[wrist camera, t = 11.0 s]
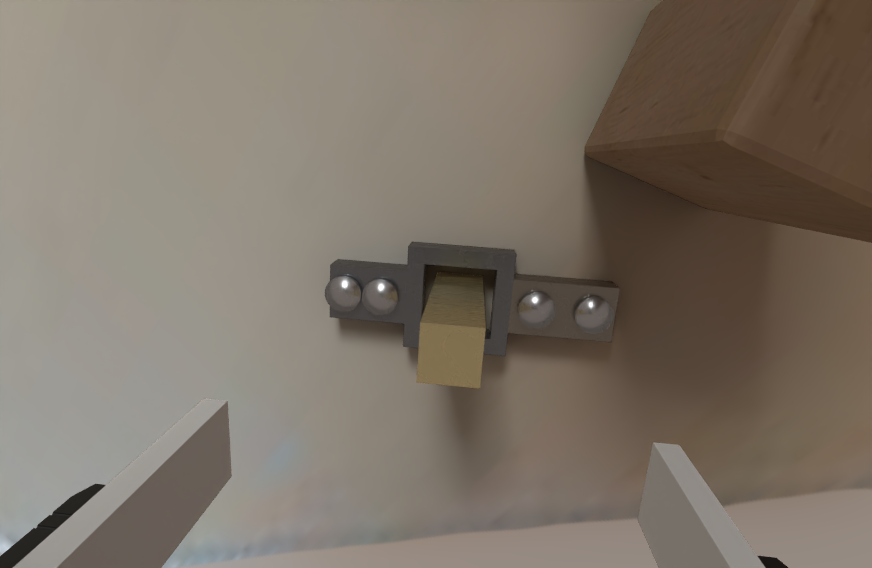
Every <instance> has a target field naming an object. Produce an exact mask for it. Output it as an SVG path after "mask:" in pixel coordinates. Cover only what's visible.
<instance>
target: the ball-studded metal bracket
mask: <svg viewBox="0 0 872 568" xmlns="http://www.w3.org/2000/svg"><path fill="white" fill-rule="evenodd" d="M515 262H516V253H515V251H514V250H511V249H498V248H485V247H473V246H460V245H447V244H435V243H422V242H411V244H410V245H409V246H408V264H407V265H402V264H390V263H378V262H365V261H353V260H341V259H338V260H336V261H335V262H333V263H332V264H331V265H330V282H329V283H328V285H327V286H326V289H325V297H326V300H327V302H328V304H329V305H330V317H334V318H346V319H357V320H368V321H379V322H390V323H402V324H404V340H403V347H413V348H419V334H420V322H421V319H422V316H423V313H424V298H425V282H426V266H427V264H429V265H441V266H453V267H466V268H478V269H490V270H496V272H495V282H494V292H493V302H492V312H491V322H490V330H486V331H485V341H484V352H483V354H489V355H500V356H505V354H506V345H507V335H508V333H514V334H525V335H536V336H547V337H559V338H570V339H581V340H592V341H604V342H611V339H612V333H613V327H614V321H615V315H616V309H617V303H618V297H619V291H620V288H619V287H618V286H616V285H615V284H614V283H613V282H610V281H597V280H585V279H573V278H561V277H549V276H536V275H524V274H514V271H515Z"/></svg>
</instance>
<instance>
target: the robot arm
mask: <svg viewBox="0 0 872 568" xmlns="http://www.w3.org/2000/svg"><path fill="white" fill-rule="evenodd" d="M231 476H232V475H231V456H230V437H229V418H228V401H226V400H216V399H206V398H204V399H203V400H202V401H201V402H200V403H198V404H197V405H196V406H195V407H194V408H193V409H192V410H190V411H189V412H188V413H187V414H186V415H185V416H184V417H183V418H181V419H180V420H179V421H178V422H177V423H176V424H175V425H174V426H172V427H171V428H170V429H169V430H168V431H167V432H166V433H164V434H163V435H162V436H161V437H160V438H159V439H158V440H157V441H155V442H154V443H153V444H152V445H151V446H150V447H149V448H148V449H146V450H145V451H144V452H143V453H142V454H141V455H140V456H138V457H137V458H136V459H135V460H134V461H133V462H132V463H131V464H129V465H128V466H127V467H126V468H125V469H124V470H123V471H122V472H120V473H119V474H118V475H117V476H116V477H115V478H114V479H112V480H111V481H110V482H109V483H108V484H107V485H101V484H94V485H92V486H90V487H89V488H87V489H85V490H83V491H81V492H79V493H77V494H75V495H74V496H72V497H70V498H69V499H68V500H67V501H66V502H65V503H63V504H62V505H61V506H60V507H59V508H57V509H56V510H55V511H54V512H53V514H52V515H49V516H48V517H47V518H45V519H44V520H43V521H42V522H41V523H39V524H38V526H37V528H36V529H35V528H33V529H32V530H31V531H30V532H29V533H28V534H26V535H25V536H24V537H23V538H22V539H20V540H19V541H18V542H17V543H16V544H14V545H13V546H12V547H11V548H10V549H8V550H7V551H6V552H5V553H4V554H2V555H1V556H0V568H161V567H162V566H163V565H164V563H165V562H166V561H167V560H168V558H169V557H170V556H171V554H172V553H173V552H174V550H175V549H176V548H177V547H178V545H179V544H180V543H181V541H182V540H183V539H184V537H185V536H186V535H187V534H188V532H189V531H190V530H191V528H192V527H193V526H194V524H195V523H196V522H197V521H198V519H199V518H200V517H201V515H202V514H203V513H204V511H205V510H206V509H207V508H208V506H209V505H210V504H211V502H212V501H213V500H214V498H215V497H216V496H217V494H218V493H219V492H220V491H221V489H222V488H223V487H224V485H225V484H226V483H227V481H228V480H229V479H230V478H231ZM638 522H639V524H640V526H641V529H642V531H643V533H644V536H645V538H646V540H647V542H648V545H649V547H650V549H651V551H652V554H653V556H654V558H655V560H656V563H657V565H658V567H659V568H788V567H787V566H786V565H784V564H783V563H782V562H781V561H780V560H778V559H777V558H772V557H764V556H757V555H756V554H755V552H754V551H753V549H752V548H751V546H750V545H749V543H748V542H747V541H746V539H745V538H744V536H743V535H742V534H741V532H740V531H739V530H738V528H737V526H736V525H735V524H734V522H733V521H732V519H731V518H730V516H729V515H728V514H727V512H726V511H725V509H724V508H723V506H722V505H721V504H720V502H719V501H718V499H717V498H716V496H715V495H714V494H713V492H712V491H711V489H710V488H709V487H708V485H707V484H706V482H705V481H704V479H703V478H702V477H701V475H700V474H699V472H698V471H697V469H696V468H695V467H694V465H693V464H692V462H691V461H690V459H689V458H688V457H687V455H686V454H685V452H684V451H683V449H682V448H681V447H680V445H675V444H665V443H655V442H653V445H652V450H651V455H650V460H649V465H648V470H647V475H646V480H645V485H644V490H643V495H642V500H641V505H640V510H639V515H638Z"/></svg>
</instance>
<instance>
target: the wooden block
mask: <svg viewBox="0 0 872 568" xmlns="http://www.w3.org/2000/svg"><path fill="white" fill-rule="evenodd" d="M585 154H586V155H587V156H588V157H590V158H592V159H595V160H597V161H599V162H601V163H604V164H606V165H608V166H611V167H613V168H615V169H617V170H620V171H622V172H624V173H626V174H629V175H631V176H633V177H636V178H638V179H640V180H642V181H645V182H647V183H649V184H651V185H654V186H656V187H658V188H660V189H663V190H665V191H667V192H670V193H672V194H674V195H676V196H679V197H681V198H683V199H685V200H688V201H690V202H692V203H695V204H697V205H699V206H701V207H704V208H706V209H710V210H715V211H720V212H725V213H730V214H734V215H739V216H744V217H749V218H754V219H759V220H764V221H769V222H774V223H778V224H783V225H788V226H793V227H798V228H803V229H808V230H813V231H817V232H822V233H827V234H832V235H837V236H842V237H847V238H852V239H857V240H861V241H866V242H871V243H872V0H663V1H662V2H661V3H660V4H658V5H657V6H656V7H655V8H654V9H653V10H652V11H651V12H650V14H649V16H648V18H647V20H646V22H645V24H644V26H643V28H642V30H641V32H640V34H639V37H638V39H637V41H636V43H635V45H634V47H633V49H632V51H631V53H630V55H629V57H628V59H627V61H626V63H625V65H624V67H623V69H622V72H621V74H620V76H619V78H618V80H617V82H616V84H615V86H614V88H613V90H612V92H611V94H610V96H609V98H608V100H607V102H606V104H605V107H604V109H603V111H602V113H601V115H600V117H599V119H598V121H597V123H596V125H595V127H594V129H593V131H592V133H591V135H590V137H589V139H588V142H587V144H586V146H585Z"/></svg>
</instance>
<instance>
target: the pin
mask: <svg viewBox="0 0 872 568" xmlns="http://www.w3.org/2000/svg"><path fill="white" fill-rule="evenodd" d="M485 331H486V324H485V306H484V289H483V275H472V274H460V273H448V272H437V275H436V278H435V281H434V284H433V287H432V290H431V293H430V296H429V298H428V301H427V304H426V307H425V310H424V313H423V316H422V319H421V322H420V334H419V350H418V367H417V383H428V384H438V385H448V386H459V387H469V388H479V389H480V383H481V372H482V362H483V352H484V341H485Z"/></svg>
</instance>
